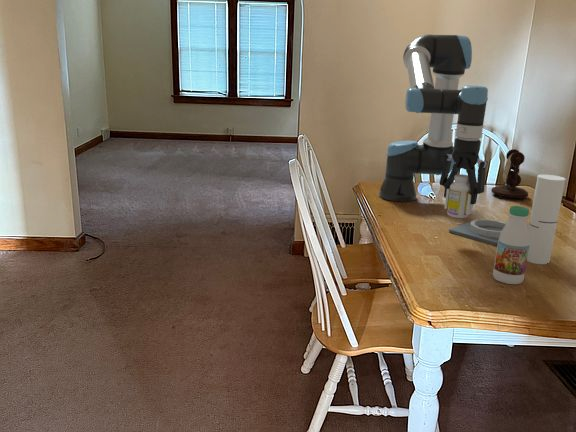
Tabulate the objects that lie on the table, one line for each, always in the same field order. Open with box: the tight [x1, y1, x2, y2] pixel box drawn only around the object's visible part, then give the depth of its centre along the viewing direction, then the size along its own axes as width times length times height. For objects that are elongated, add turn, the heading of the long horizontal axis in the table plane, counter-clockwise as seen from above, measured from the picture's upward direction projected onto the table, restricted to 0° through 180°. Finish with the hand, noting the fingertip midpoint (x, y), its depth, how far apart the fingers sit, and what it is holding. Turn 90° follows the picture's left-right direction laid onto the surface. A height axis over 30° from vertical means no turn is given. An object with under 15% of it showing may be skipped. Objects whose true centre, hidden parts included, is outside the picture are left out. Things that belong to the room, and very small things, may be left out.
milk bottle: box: [492, 205, 530, 285], centre depth 138 cm, size 8×8×20 cm
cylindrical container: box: [527, 174, 566, 265], centre depth 152 cm, size 7×7×25 cm
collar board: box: [448, 218, 507, 247], centre depth 177 cm, size 20×20×3 cm
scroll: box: [491, 148, 529, 201], centre depth 224 cm, size 15×15×20 cm
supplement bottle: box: [446, 173, 471, 219], centre depth 165 cm, size 7×7×13 cm
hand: (458, 210), depth 166 cm, fingers closed on supplement bottle, 7 cm apart
